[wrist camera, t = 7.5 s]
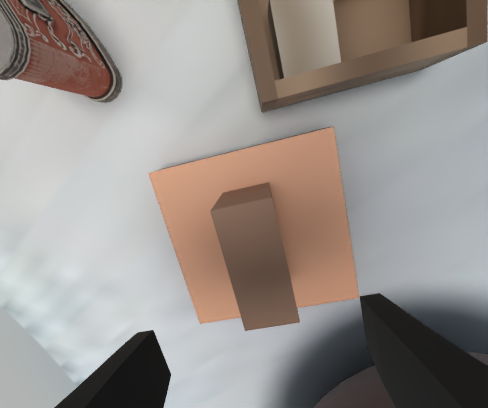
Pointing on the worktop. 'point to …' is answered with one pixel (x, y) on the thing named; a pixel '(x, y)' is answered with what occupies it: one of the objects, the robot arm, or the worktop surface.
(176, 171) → the lid
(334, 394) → the smooth stone
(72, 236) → the worktop surface
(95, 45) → the ornate red tin
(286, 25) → the box
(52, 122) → the worktop surface
